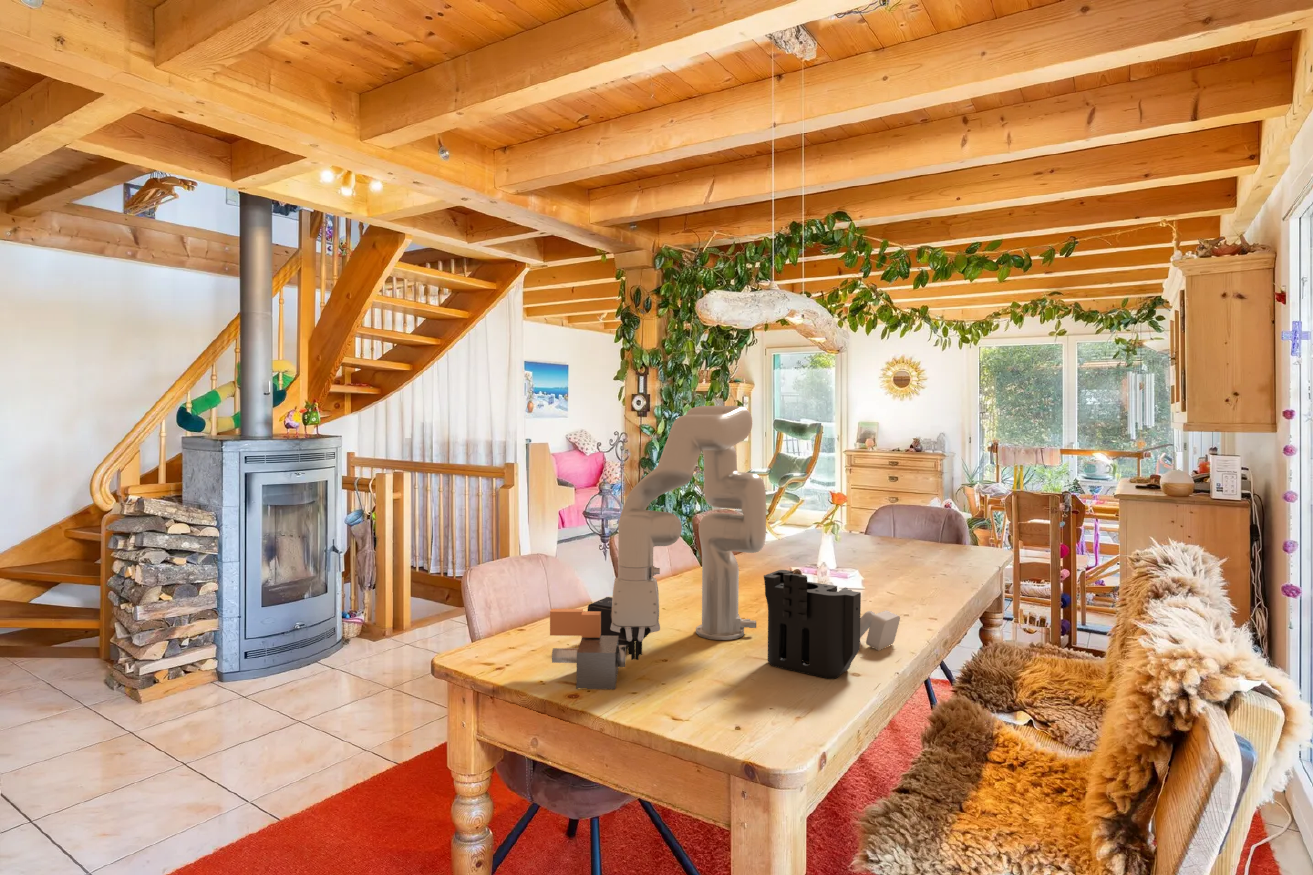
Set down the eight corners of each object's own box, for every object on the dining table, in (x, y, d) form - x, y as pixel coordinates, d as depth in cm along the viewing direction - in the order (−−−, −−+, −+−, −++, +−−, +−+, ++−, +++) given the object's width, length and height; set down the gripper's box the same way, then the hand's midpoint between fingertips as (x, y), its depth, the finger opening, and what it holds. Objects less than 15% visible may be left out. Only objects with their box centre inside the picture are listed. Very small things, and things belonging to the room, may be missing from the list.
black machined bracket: (780, 654, 176) (781, 562, 175) (864, 672, 163) (865, 573, 163) (756, 667, 166) (757, 570, 166) (843, 687, 154) (845, 583, 153)
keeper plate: (600, 633, 164) (600, 608, 164) (599, 637, 161) (599, 612, 161) (551, 633, 164) (551, 608, 164) (549, 637, 161) (549, 611, 161)
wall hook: (856, 633, 191) (864, 597, 189) (891, 651, 184) (901, 614, 182) (839, 639, 185) (848, 603, 183) (875, 658, 178) (885, 621, 176)
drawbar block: (618, 669, 164) (618, 635, 164) (615, 689, 152) (615, 652, 152) (582, 669, 164) (582, 635, 164) (576, 688, 152) (576, 652, 152)
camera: (583, 650, 180) (636, 654, 173) (579, 604, 181) (632, 606, 174) (606, 639, 190) (657, 641, 183) (603, 595, 190) (653, 596, 183)
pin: (625, 662, 160) (625, 642, 160) (624, 670, 156) (624, 648, 155) (554, 662, 160) (554, 641, 160) (551, 669, 156) (551, 648, 155)
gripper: (670, 569, 161) (669, 652, 161) (602, 569, 161) (601, 652, 161) (670, 577, 154) (670, 664, 154) (599, 576, 154) (598, 663, 154)
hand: (635, 657), depth 158 cm, fingers closed
